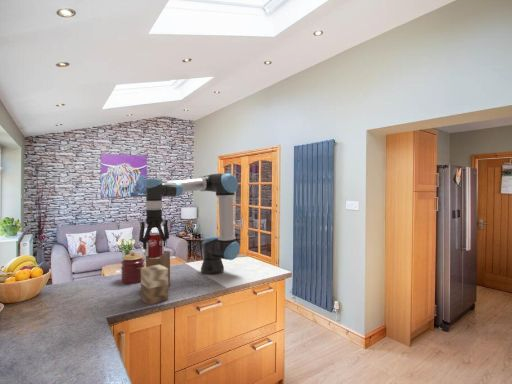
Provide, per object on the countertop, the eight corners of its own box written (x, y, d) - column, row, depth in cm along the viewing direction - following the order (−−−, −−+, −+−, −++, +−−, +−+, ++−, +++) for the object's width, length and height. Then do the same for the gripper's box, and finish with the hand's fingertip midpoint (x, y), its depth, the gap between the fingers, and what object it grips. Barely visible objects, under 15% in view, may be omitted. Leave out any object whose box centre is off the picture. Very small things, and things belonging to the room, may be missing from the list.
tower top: (159, 279, 159) (159, 264, 159) (168, 284, 152) (168, 268, 152) (140, 283, 153) (140, 267, 153) (148, 288, 145) (148, 272, 145)
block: (162, 291, 163) (161, 254, 163) (145, 290, 165) (145, 253, 165) (170, 285, 173) (170, 250, 173) (155, 283, 175) (154, 249, 175)
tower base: (160, 294, 160) (160, 279, 159) (168, 299, 152) (168, 284, 152) (141, 298, 153) (141, 283, 153) (148, 305, 146) (148, 288, 145)
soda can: (157, 254, 157) (157, 232, 157) (164, 257, 152) (164, 233, 151) (144, 257, 152) (144, 233, 152) (150, 260, 147) (150, 235, 146)
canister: (145, 276, 189) (144, 248, 188) (144, 283, 177) (144, 253, 176) (122, 278, 185) (122, 249, 184) (120, 285, 173) (119, 254, 172)
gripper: (169, 207, 160) (170, 250, 161) (131, 209, 147) (131, 255, 148) (176, 208, 155) (176, 252, 156) (136, 210, 142) (136, 259, 142)
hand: (154, 254), depth 152 cm, fingers closed on soda can, 7 cm apart
